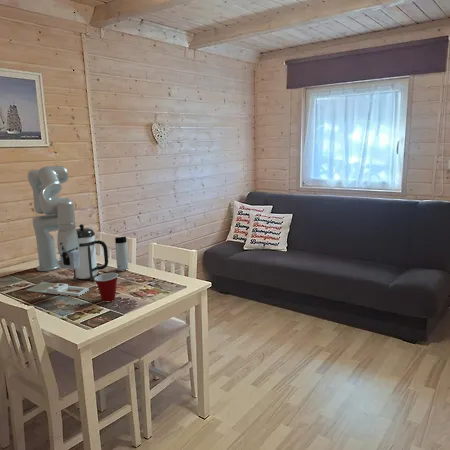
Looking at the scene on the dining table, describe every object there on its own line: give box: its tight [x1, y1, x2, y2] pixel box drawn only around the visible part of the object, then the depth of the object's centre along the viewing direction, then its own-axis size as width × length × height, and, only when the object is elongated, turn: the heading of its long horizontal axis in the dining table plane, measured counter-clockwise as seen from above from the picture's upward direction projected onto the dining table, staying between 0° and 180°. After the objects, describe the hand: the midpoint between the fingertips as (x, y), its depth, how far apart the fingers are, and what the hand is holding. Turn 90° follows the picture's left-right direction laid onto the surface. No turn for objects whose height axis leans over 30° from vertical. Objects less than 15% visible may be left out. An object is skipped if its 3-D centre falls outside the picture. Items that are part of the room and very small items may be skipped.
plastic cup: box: [93, 272, 119, 302], centre depth 186 cm, size 11×11×12 cm
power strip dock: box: [46, 282, 90, 297], centre depth 197 cm, size 8×18×3 cm, turn 73°
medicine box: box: [59, 250, 80, 270], centre depth 194 cm, size 8×4×9 cm, turn 71°
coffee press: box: [72, 223, 109, 282], centre depth 215 cm, size 17×16×30 cm
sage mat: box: [25, 281, 58, 294], centre depth 204 cm, size 12×12×1 cm
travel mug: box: [114, 236, 129, 272], centre depth 229 cm, size 6×7×20 cm
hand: (70, 262), depth 194 cm, fingers closed on medicine box, 4 cm apart
